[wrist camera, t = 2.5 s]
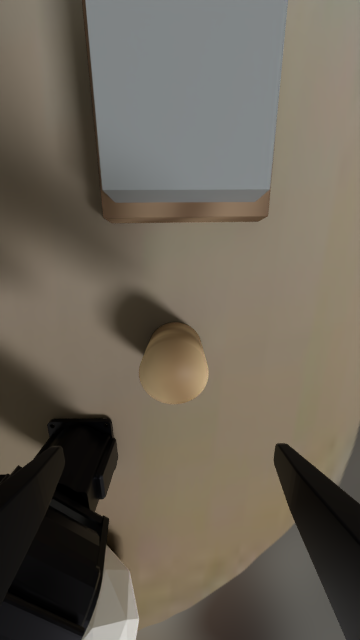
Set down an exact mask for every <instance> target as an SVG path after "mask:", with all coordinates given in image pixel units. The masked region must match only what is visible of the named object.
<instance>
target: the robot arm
mask: <svg viewBox="0 0 360 640" xmlns="http://www.w3.org/2000/svg"><path fill="white" fill-rule="evenodd" d="M105 423H106V424H108V425H106V424H105ZM53 424H54V425H53ZM47 426H48V431H49V436H50V438H49V439H48V441H47V442H46V443H45V445H44V446H43V447H42V449H41V450H40V451H39V452H38V454H37V455H36V456H35V458H34V459H33V460H32V461H31V462H29V463H28V464H27V465H25V466H24V467H23V468H22V467H20V466H19V465H18V466H17V467H16V469H15V470H14V471H13V472H12V473H11V474H10V475H9V474H6V475H0V640H82V637H83V636H84V634H85V631H86V629H87V627H88V625H89V623H90V620H91V617H92V615H93V612H94V610H95V607H96V603H97V600H98V597H99V593H100V589H101V584H102V578H103V569H104V560H105V551H106V542H107V533H108V524H109V518H107V517H105V516H104V515H103V516H101V515H99V514H97V513H96V512H95V510H96V507H97V504H98V501H99V499H104V498H105V496H106V494H107V491H108V488H109V485H110V482H111V479H112V475H113V472H114V470H115V468H116V465H117V460H118V452H117V443H116V439H115V438H114V436H113V427H112V421H111V420H110V419H52V420H51V421H50V422H49V423H48V425H47ZM274 465H275V468H276V471H277V474H278V477H279V480H280V483H281V486H282V488H283V491H284V494H285V497H286V500H287V503H288V506H289V509H290V511H291V514H292V516H293V518H294V521H295V523H296V525H297V528H298V530H299V532H300V535H301V537H302V539H303V541H304V544H305V546H306V548H307V550H308V553H309V555H310V558H311V560H312V562H313V564H314V567H315V569H316V571H317V574H318V576H319V578H320V580H321V583H322V585H323V587H324V590H325V592H326V594H327V597H328V599H329V601H330V603H331V606H332V608H333V610H334V613H335V615H336V617H337V620H338V622H339V624H340V626H341V629H342V631H343V633H344V636H345V638H346V640H360V504H359V503H358V502H357V501H356V500H354V499H353V498H352V497H350V495H348V494H347V493H346V492H345V491H343V490H342V489H341V488H340V487H339V486H337V485H336V484H335V483H334V482H333V481H331V480H330V479H329V478H328V477H327V476H325V475H324V474H323V473H322V472H320V471H319V470H318V469H317V468H316V467H314V466H313V465H312V464H311V463H310V462H308V461H307V460H306V459H305V458H303V457H302V456H301V455H300V454H299V453H297V452H296V451H295V450H294V449H293V448H291V447H290V446H289V445H288V444H285V443H278V444H276V446H275V453H274Z"/></svg>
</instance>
